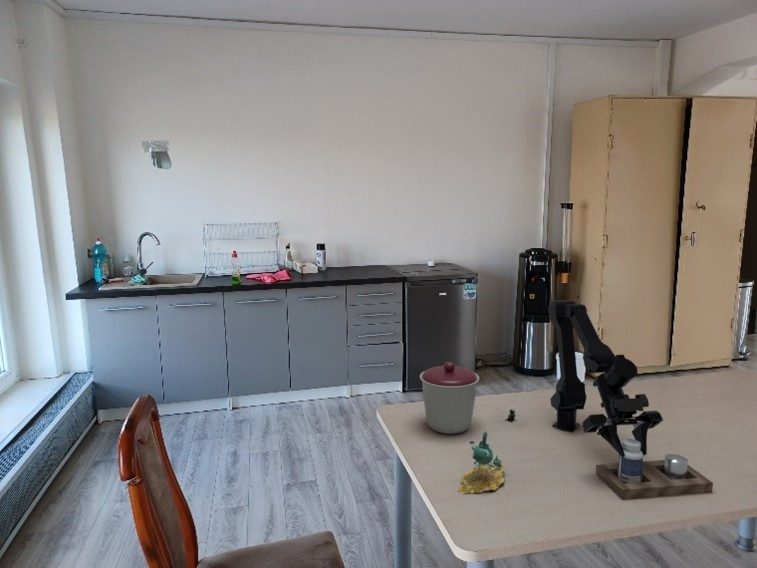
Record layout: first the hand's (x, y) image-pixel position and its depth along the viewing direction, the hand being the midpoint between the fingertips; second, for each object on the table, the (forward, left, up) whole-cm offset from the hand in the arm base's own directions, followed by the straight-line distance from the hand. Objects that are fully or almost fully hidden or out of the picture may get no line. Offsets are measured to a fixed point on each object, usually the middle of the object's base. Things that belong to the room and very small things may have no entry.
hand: (634, 455), depth 130 cm
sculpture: (-18, -42, -9) cm, 46 cm away
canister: (-1, -54, -8) cm, 55 cm away
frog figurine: (+20, -29, -9) cm, 36 cm away
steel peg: (-10, +7, -8) cm, 15 cm away
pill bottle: (-1, -1, -7) cm, 7 cm away
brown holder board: (-5, +3, -8) cm, 10 cm away
